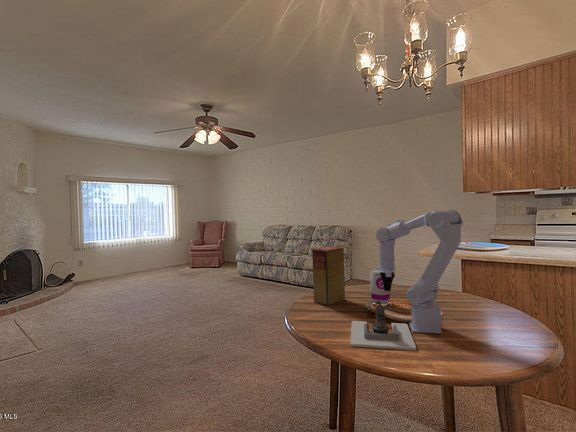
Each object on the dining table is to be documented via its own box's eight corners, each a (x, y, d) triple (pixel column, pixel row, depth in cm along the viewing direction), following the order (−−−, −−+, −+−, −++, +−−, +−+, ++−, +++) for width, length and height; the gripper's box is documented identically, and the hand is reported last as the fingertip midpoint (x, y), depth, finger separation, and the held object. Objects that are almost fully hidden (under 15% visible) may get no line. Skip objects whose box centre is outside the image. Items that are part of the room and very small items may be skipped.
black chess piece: (390, 341, 103) (389, 305, 103) (372, 340, 105) (371, 304, 104) (388, 334, 109) (388, 300, 109) (371, 333, 110) (370, 299, 110)
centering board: (406, 325, 116) (406, 319, 116) (416, 350, 96) (416, 342, 96) (351, 322, 120) (351, 316, 120) (350, 346, 101) (350, 338, 101)
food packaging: (330, 295, 156) (329, 245, 155) (346, 299, 149) (345, 247, 148) (312, 302, 147) (311, 249, 146) (328, 306, 140) (326, 250, 139)
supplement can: (392, 307, 137) (391, 273, 136) (373, 307, 137) (372, 273, 137) (386, 301, 145) (386, 269, 145) (368, 301, 145) (368, 269, 145)
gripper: (375, 254, 133) (376, 285, 134) (377, 260, 119) (378, 295, 120) (392, 254, 132) (393, 286, 132) (396, 260, 117) (397, 296, 118)
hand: (387, 290), depth 126 cm, fingers closed
